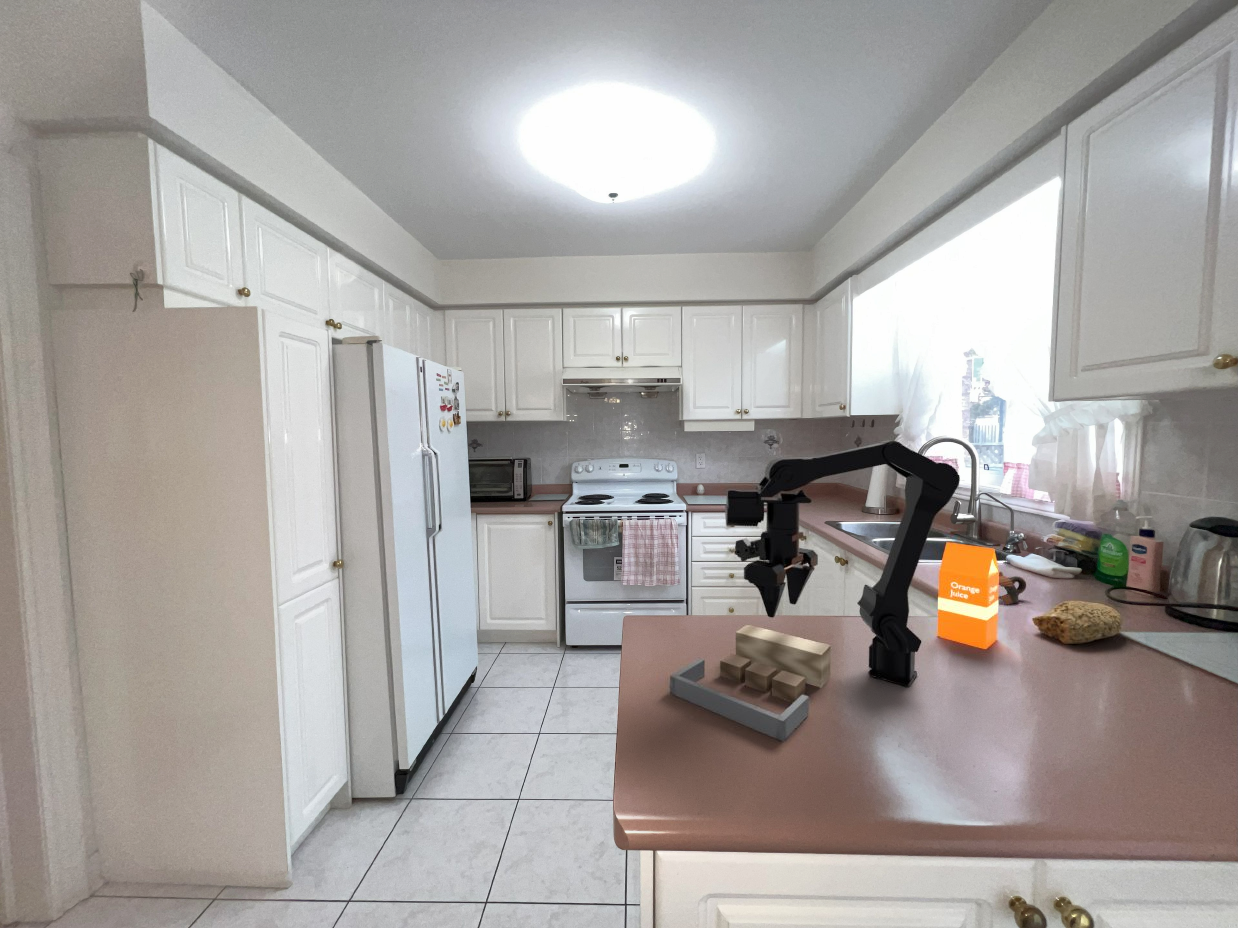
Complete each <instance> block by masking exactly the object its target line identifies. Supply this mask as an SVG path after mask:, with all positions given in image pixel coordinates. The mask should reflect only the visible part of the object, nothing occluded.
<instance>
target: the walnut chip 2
mask: <svg viewBox="0 0 1238 928" xmlns="http://www.w3.org/2000/svg"><path fill="white" fill-rule="evenodd" d="M802 694H803V695H806V683H805V677H802V676H799V675H796V674H792V673H789V672H786V671H783V670H782V671H781V672H780V673H779V674H777V675H776V676H775V677H774V678H772V689H771V696H773V697H776V698H778V699H779V698H780V699H781V698H782V700H784V699H785V700H784V701H787V702H789V701H790V703H792V702H795V701H796V700H797V699H798V698H799V697H800V696H801V695H802Z"/></svg>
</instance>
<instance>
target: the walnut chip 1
mask: <svg viewBox="0 0 1238 928" xmlns="http://www.w3.org/2000/svg"><path fill="white" fill-rule="evenodd" d="M750 665H751V660H750V659H747V658H744V657H741V656H738V655H736V654H734V653H730V654H728V655H726V656H725V657H723V658H722V659H720V661H719V676H720V677H722V678H723V679H728V680H729V681H732V682H735V683H739V684H741V683H743V682H745V669H746V668H748V667H749V666H750Z"/></svg>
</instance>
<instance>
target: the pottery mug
mask: <svg viewBox="0 0 1238 928" xmlns="http://www.w3.org/2000/svg"><path fill="white" fill-rule="evenodd" d="M1016 583H1018V587H1016V585H1015V584H1016ZM999 587H1002V588H1004V590H1005V591H1006V594H1004V595H1001V596H1000V600H1001V601H1002V604H1003V606H1004V605H1010V604H1016V603H1020V601H1019V595H1020V594H1022V593H1023V592H1025V590H1026V588H1027V582H1026V580H1025V579H1024V578H1023V577H1020V576H1017V575H1015V576H1011V577H1008V576H1006V575H1004V573H1003V572H1002V571H999Z"/></svg>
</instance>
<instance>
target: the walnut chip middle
mask: <svg viewBox="0 0 1238 928" xmlns="http://www.w3.org/2000/svg"><path fill="white" fill-rule="evenodd" d="M776 675H777V668H774V667H771V666H768V665H765V664H762V663H759V662H755V663H753V664H752V665H750V666H749V667H748V668H746V669H745V680H744V686H747V687H749V688H751V689H753V690H756V691H760V692H762V693H765V694H767V693H768V692H769V691H770V690H771V691H772V678H774V677H775V676H776Z"/></svg>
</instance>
